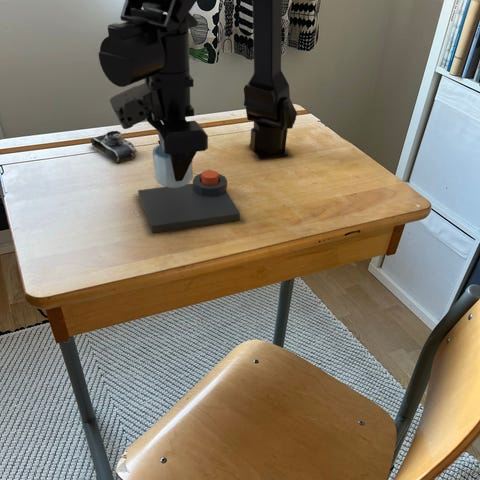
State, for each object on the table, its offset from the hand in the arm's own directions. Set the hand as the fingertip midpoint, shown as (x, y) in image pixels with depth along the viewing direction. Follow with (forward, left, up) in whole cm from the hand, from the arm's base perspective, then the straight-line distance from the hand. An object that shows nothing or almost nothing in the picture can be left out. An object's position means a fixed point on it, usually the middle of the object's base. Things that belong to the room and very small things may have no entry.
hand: (174, 171), depth 82 cm
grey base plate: (-2, -1, -8) cm, 8 cm away
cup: (0, 0, -2) cm, 2 cm away
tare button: (-7, -5, -5) cm, 10 cm away
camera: (+7, -26, -8) cm, 28 cm away
